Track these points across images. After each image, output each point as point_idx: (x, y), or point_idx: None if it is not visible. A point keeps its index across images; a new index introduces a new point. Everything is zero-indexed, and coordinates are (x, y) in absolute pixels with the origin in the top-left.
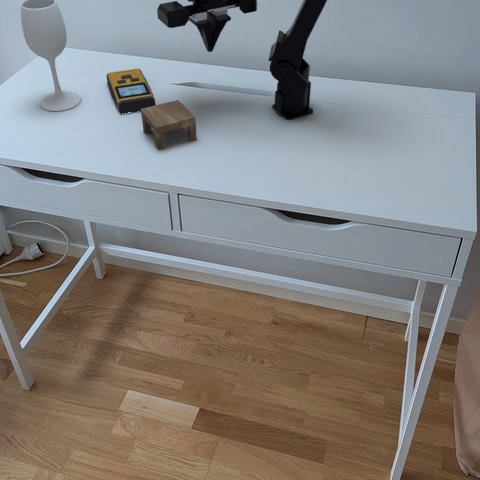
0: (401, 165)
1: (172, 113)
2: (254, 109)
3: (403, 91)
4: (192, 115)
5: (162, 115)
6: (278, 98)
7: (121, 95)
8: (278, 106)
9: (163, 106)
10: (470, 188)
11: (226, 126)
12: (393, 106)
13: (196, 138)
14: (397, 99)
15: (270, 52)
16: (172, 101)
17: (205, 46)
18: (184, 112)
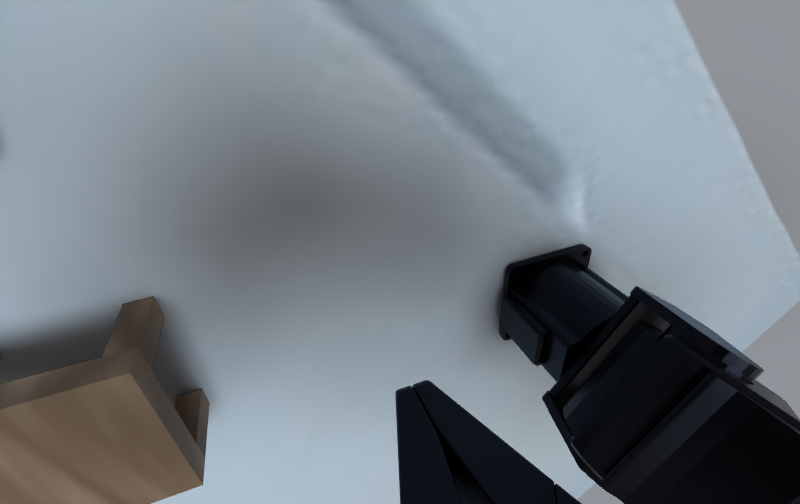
0: (559, 463)
1: (91, 471)
2: (454, 265)
3: (767, 257)
4: (192, 475)
5: (32, 487)
6: (526, 343)
7: None
8: (510, 326)
9: (31, 425)
10: (583, 493)
11: (329, 344)
12: (701, 309)
13: (208, 406)
14: (730, 285)
15: (658, 439)
16: (90, 386)
17: (397, 427)
18: (156, 463)
